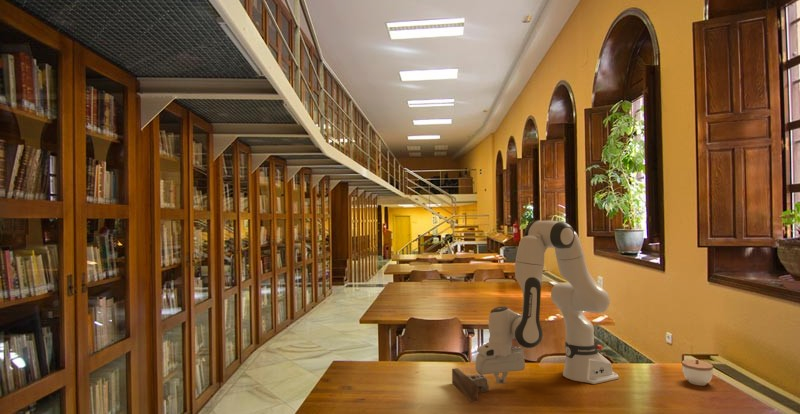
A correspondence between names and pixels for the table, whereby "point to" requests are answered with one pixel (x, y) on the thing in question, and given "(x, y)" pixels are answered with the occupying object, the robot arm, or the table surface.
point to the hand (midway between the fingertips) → (500, 383)
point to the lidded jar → (697, 371)
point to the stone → (479, 382)
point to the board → (464, 385)
